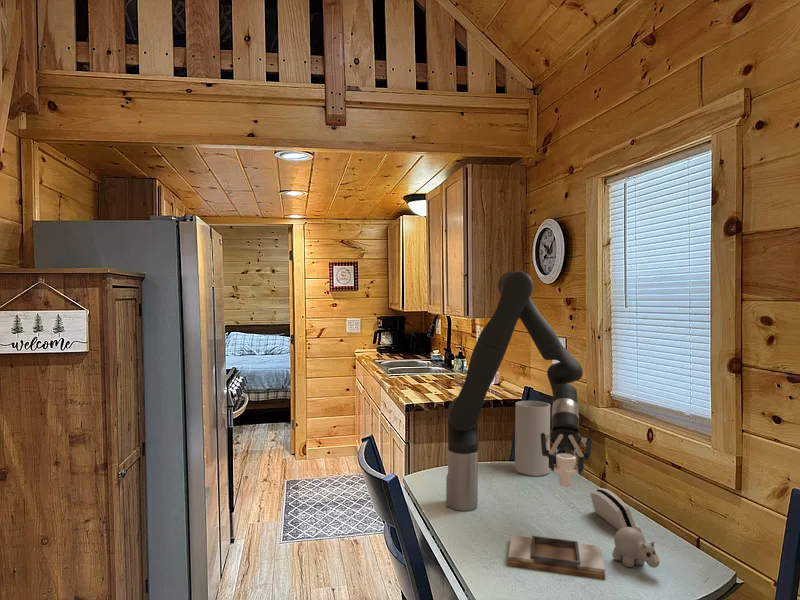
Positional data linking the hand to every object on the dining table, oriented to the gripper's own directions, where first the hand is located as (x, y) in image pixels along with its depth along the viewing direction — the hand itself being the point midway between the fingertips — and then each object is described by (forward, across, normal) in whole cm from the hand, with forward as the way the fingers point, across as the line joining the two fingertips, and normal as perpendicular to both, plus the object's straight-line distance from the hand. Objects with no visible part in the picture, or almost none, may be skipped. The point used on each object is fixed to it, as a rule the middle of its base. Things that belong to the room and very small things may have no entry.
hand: (566, 470), depth 145 cm
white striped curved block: (+4, +14, +22) cm, 26 cm away
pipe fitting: (+2, 0, +4) cm, 5 cm away
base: (+22, -3, +3) cm, 23 cm away
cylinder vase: (-25, -10, +51) cm, 57 cm away
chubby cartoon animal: (+22, +16, +4) cm, 27 cm away
